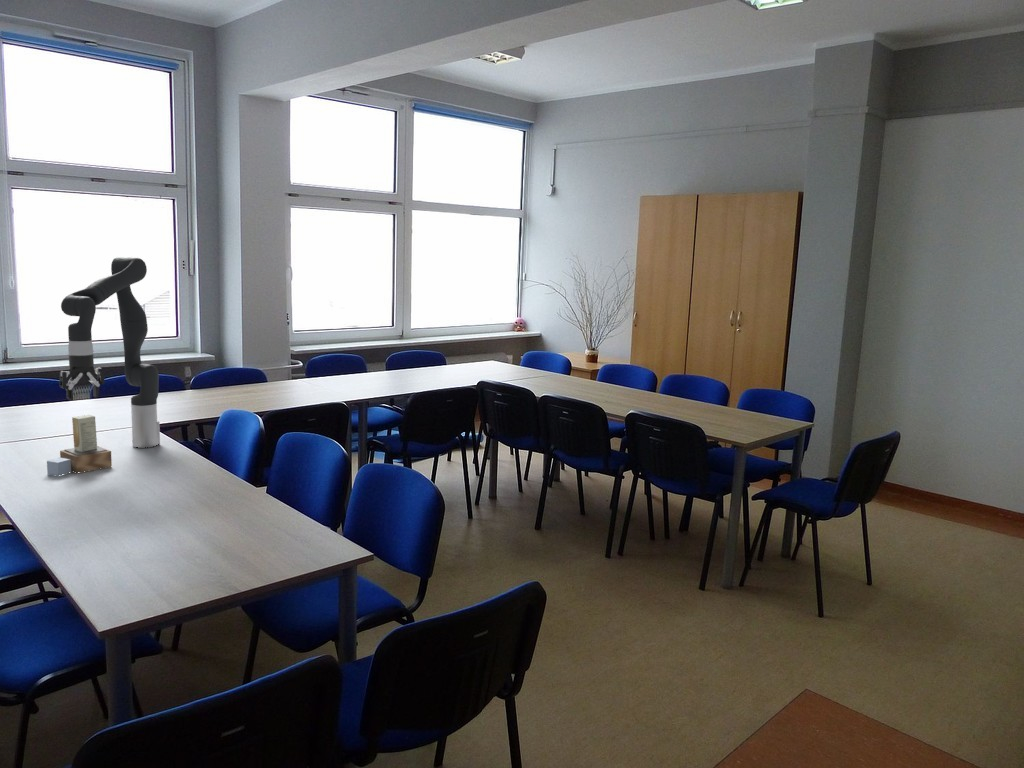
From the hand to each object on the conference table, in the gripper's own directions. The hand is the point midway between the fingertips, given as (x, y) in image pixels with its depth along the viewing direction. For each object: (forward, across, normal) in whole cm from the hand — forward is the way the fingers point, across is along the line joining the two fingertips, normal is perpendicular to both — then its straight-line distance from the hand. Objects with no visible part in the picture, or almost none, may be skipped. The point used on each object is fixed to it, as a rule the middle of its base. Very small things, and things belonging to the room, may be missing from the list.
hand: (83, 398), depth 267 cm
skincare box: (+19, 0, 0) cm, 19 cm away
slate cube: (+25, +10, +2) cm, 27 cm away
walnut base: (+25, 0, 0) cm, 25 cm away
